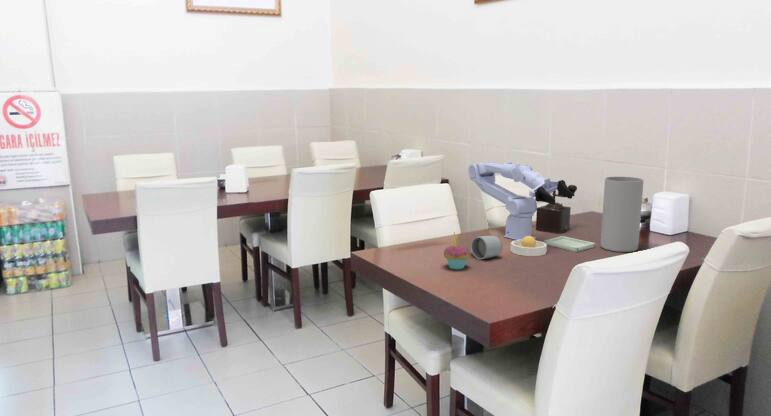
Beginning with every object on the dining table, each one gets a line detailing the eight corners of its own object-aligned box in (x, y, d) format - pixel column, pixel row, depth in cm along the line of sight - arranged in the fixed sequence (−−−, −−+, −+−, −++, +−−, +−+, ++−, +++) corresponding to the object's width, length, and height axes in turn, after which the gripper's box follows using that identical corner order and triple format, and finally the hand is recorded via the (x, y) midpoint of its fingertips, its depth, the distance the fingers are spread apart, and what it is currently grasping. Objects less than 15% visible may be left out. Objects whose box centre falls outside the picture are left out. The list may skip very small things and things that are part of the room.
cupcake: (462, 272, 179) (463, 235, 177) (438, 268, 184) (438, 231, 182) (474, 265, 187) (474, 229, 184) (450, 261, 191) (450, 226, 189)
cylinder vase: (594, 248, 207) (599, 179, 202) (608, 242, 216) (613, 175, 211) (630, 254, 198) (635, 182, 194) (643, 247, 207) (648, 178, 202)
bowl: (503, 250, 204) (504, 243, 204) (526, 245, 211) (526, 238, 211) (530, 258, 195) (531, 250, 194) (553, 252, 202) (553, 244, 201)
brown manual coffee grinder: (560, 234, 228) (563, 189, 225) (534, 230, 235) (536, 186, 232) (576, 227, 240) (579, 184, 236) (551, 223, 247) (554, 182, 243)
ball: (518, 249, 204) (518, 235, 203) (527, 247, 206) (528, 233, 206) (529, 252, 200) (530, 238, 199) (538, 250, 203) (539, 236, 202)
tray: (544, 244, 213) (544, 240, 213) (562, 239, 219) (562, 235, 219) (576, 252, 202) (577, 248, 202) (595, 247, 208) (595, 243, 208)
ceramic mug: (503, 257, 196) (504, 235, 194) (486, 261, 191) (486, 239, 190) (482, 251, 204) (482, 230, 203) (464, 255, 200) (464, 233, 198)
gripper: (522, 178, 206) (547, 194, 196) (554, 168, 212) (580, 183, 201) (520, 195, 210) (545, 211, 199) (552, 185, 215) (578, 201, 205)
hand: (563, 198), depth 200 cm, fingers open, 7 cm apart
